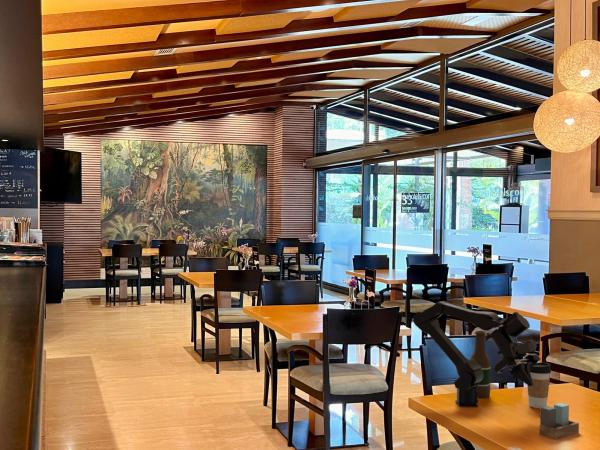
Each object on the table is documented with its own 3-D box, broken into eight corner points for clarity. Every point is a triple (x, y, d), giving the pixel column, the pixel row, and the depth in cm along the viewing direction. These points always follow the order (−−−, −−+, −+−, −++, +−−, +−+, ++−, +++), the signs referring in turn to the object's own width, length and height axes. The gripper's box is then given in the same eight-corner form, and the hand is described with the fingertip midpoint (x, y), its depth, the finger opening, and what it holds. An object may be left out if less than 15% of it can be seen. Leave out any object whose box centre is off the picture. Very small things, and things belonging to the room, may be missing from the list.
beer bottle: (478, 399, 242) (479, 333, 242) (464, 394, 249) (465, 330, 249) (494, 397, 246) (495, 332, 246) (479, 392, 253) (481, 329, 252)
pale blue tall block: (553, 429, 208) (553, 404, 208) (560, 428, 210) (560, 402, 210) (561, 432, 206) (562, 406, 206) (568, 430, 208) (569, 405, 207)
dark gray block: (540, 433, 204) (540, 407, 204) (547, 431, 206) (547, 405, 206) (548, 436, 202) (549, 409, 202) (555, 434, 204) (556, 408, 204)
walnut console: (539, 434, 204) (539, 424, 204) (562, 428, 210) (563, 418, 210) (555, 439, 199) (555, 429, 199) (578, 432, 206) (578, 423, 206)
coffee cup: (552, 410, 230) (553, 366, 230) (526, 408, 232) (527, 365, 231) (548, 403, 238) (549, 361, 238) (523, 402, 240) (524, 360, 240)
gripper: (504, 333, 215) (531, 375, 207) (537, 330, 227) (564, 370, 218) (482, 351, 222) (508, 393, 213) (515, 348, 233) (541, 387, 225)
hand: (531, 385), depth 217 cm, fingers closed
